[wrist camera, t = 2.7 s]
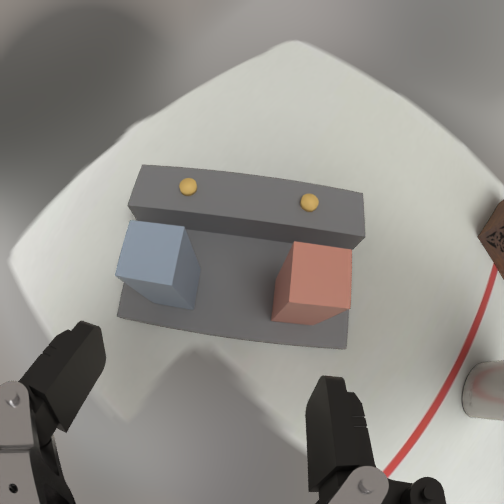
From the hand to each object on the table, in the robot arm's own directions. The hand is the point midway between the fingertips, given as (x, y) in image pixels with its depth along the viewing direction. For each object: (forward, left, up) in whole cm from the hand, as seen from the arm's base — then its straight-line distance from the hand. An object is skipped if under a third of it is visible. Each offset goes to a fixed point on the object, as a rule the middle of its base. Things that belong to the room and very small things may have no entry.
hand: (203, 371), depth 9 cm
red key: (-7, -8, -23) cm, 25 cm away
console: (0, -12, -25) cm, 27 cm away
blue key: (+7, -8, -23) cm, 26 cm away
